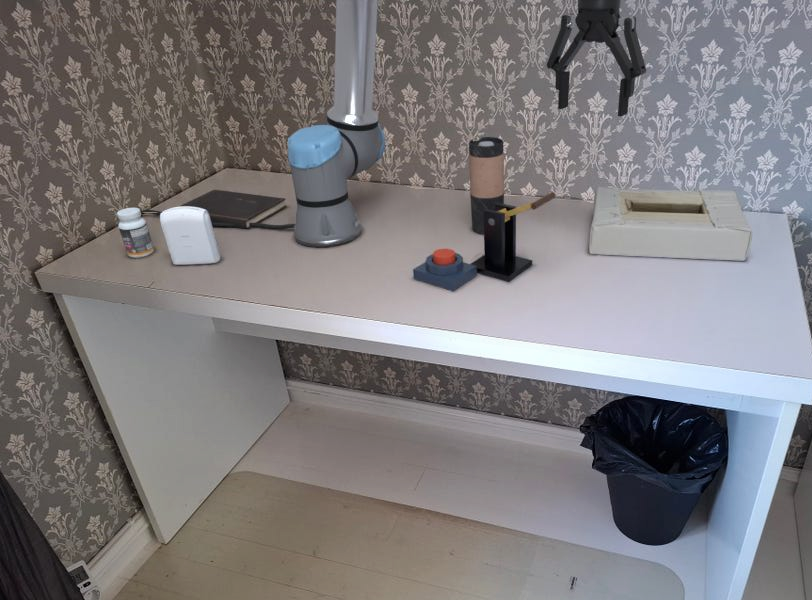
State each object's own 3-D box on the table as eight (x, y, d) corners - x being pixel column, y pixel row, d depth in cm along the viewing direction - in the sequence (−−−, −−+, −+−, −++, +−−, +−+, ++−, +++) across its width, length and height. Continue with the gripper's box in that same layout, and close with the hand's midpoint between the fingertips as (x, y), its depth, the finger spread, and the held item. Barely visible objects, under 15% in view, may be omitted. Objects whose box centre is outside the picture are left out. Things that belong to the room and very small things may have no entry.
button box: (413, 279, 137) (412, 261, 135) (437, 264, 142) (436, 246, 140) (453, 291, 132) (452, 272, 129) (476, 275, 137) (476, 257, 135)
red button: (428, 262, 135) (428, 254, 134) (442, 254, 137) (441, 246, 136) (446, 267, 132) (446, 259, 131) (459, 259, 135) (459, 251, 134)
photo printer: (170, 266, 146) (153, 211, 139) (177, 258, 150) (161, 204, 143) (217, 265, 146) (203, 210, 139) (223, 256, 149) (210, 202, 143)
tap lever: (557, 200, 128) (552, 188, 127) (538, 211, 123) (533, 199, 123) (506, 219, 137) (501, 208, 137) (487, 230, 133) (482, 219, 132)
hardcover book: (216, 197, 182) (214, 189, 181) (286, 207, 174) (285, 198, 173) (173, 218, 170) (170, 210, 169) (247, 230, 162) (245, 220, 161)
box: (588, 256, 143) (748, 262, 137) (590, 221, 139) (755, 226, 133) (590, 217, 162) (731, 220, 157) (592, 185, 158) (737, 187, 153)
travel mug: (501, 235, 154) (500, 146, 143) (468, 234, 155) (465, 146, 144) (506, 223, 160) (506, 136, 149) (474, 221, 161) (472, 136, 150)
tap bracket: (532, 265, 140) (533, 205, 133) (508, 282, 134) (508, 220, 127) (492, 254, 145) (491, 197, 138) (467, 270, 139) (465, 210, 132)
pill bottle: (123, 254, 153) (109, 212, 147) (147, 246, 156) (134, 204, 151) (134, 260, 149) (120, 218, 144) (159, 252, 153) (146, 210, 147)
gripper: (530, -15, 123) (528, 108, 135) (657, -13, 111) (643, 123, 122) (550, -19, 128) (547, 100, 140) (674, -17, 116) (659, 113, 127)
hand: (592, 111), depth 131 cm, fingers open, 12 cm apart
